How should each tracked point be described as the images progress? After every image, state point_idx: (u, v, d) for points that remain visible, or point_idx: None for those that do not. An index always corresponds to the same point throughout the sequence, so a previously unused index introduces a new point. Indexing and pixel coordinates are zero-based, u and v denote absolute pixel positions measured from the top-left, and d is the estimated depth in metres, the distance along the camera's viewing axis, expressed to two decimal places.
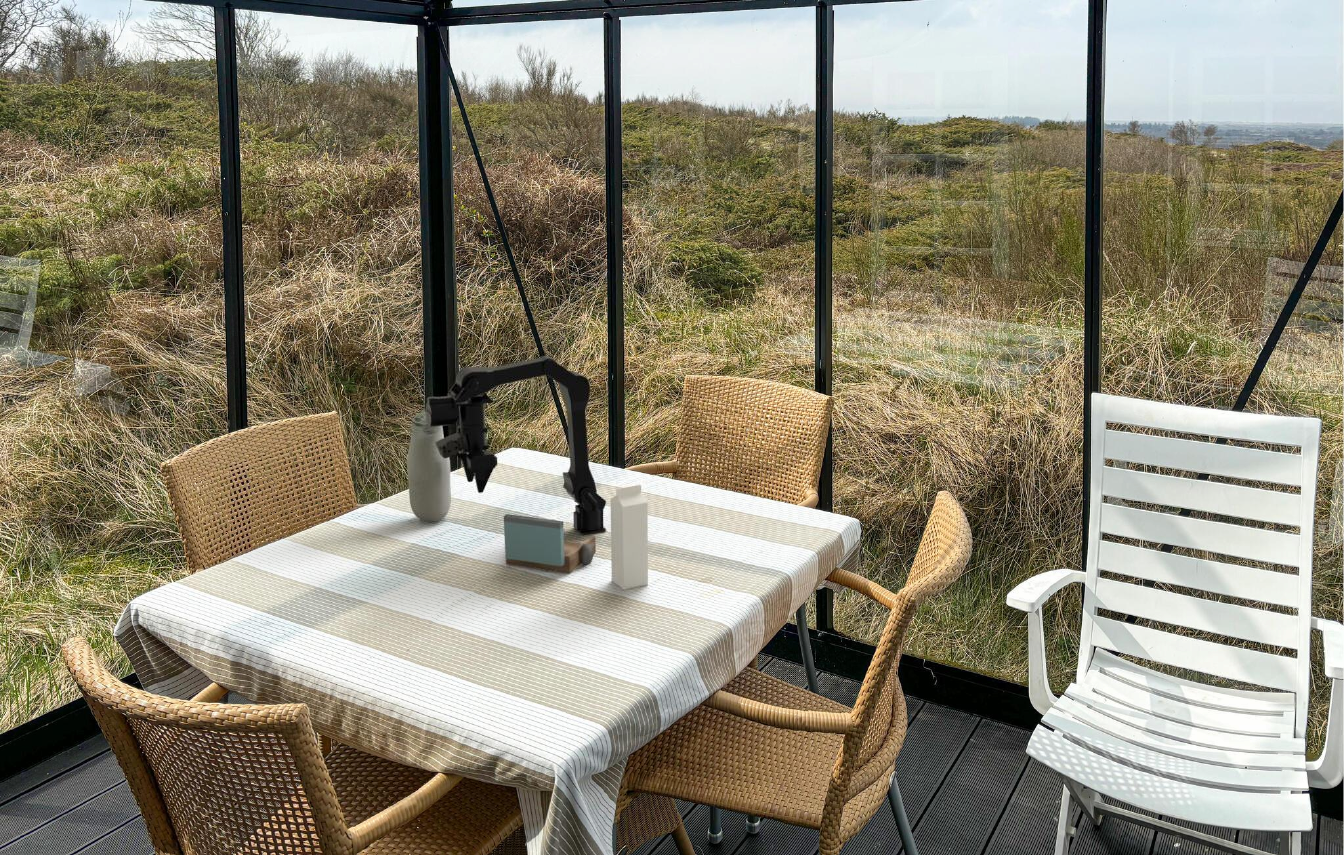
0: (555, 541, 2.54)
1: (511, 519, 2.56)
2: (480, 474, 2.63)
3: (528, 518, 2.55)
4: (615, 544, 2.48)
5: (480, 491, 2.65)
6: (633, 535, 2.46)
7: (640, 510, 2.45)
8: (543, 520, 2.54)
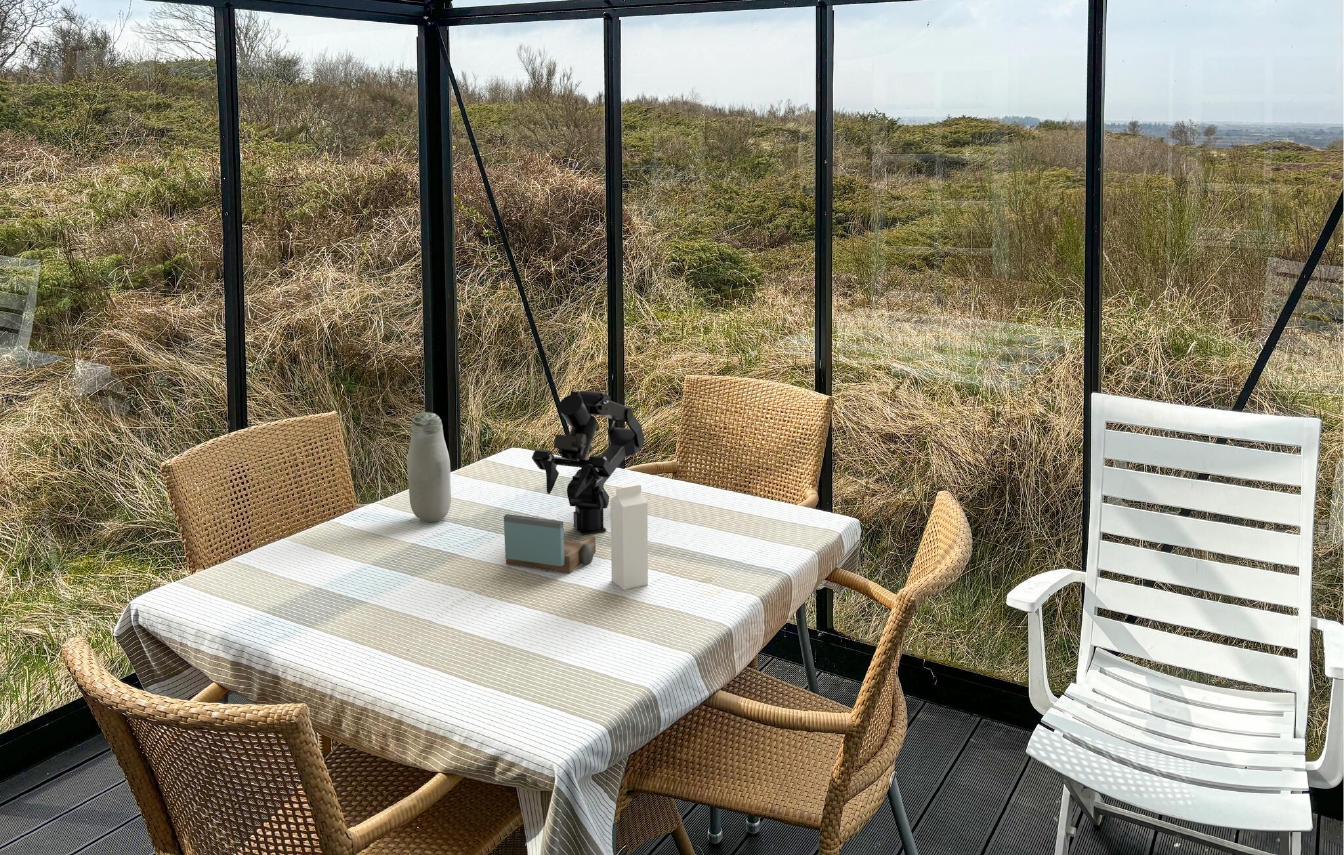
0: (555, 541, 2.54)
1: (511, 519, 2.56)
2: (585, 478, 2.68)
3: (528, 518, 2.55)
4: (615, 544, 2.48)
5: (576, 495, 2.67)
6: (633, 535, 2.46)
7: (640, 510, 2.45)
8: (543, 520, 2.54)
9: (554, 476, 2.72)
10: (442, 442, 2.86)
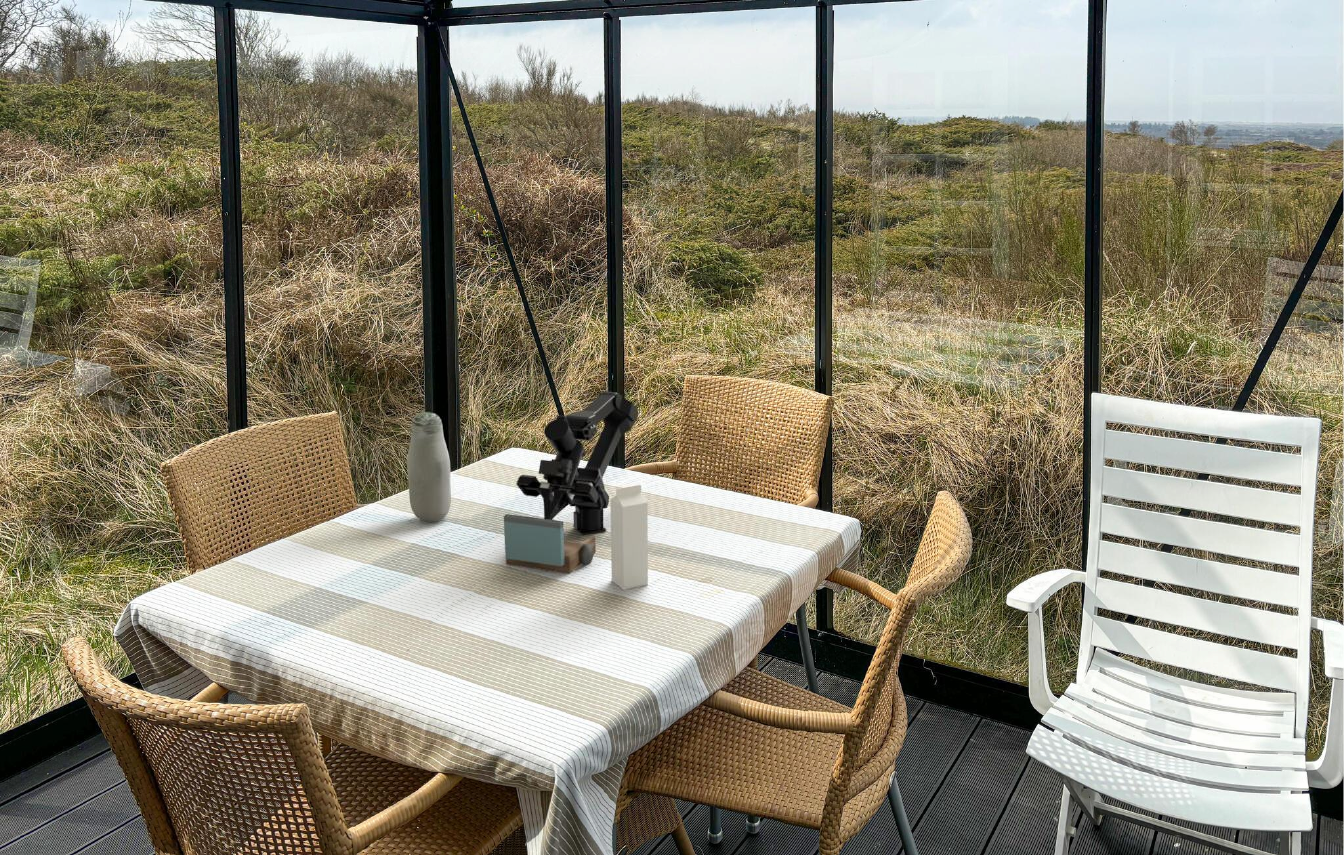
0: (555, 541, 2.54)
1: (511, 519, 2.56)
2: (557, 504, 2.63)
3: (528, 518, 2.55)
4: (615, 544, 2.48)
5: None
6: (633, 535, 2.46)
7: (640, 510, 2.45)
8: (543, 520, 2.54)
9: (552, 504, 2.65)
10: (442, 442, 2.86)
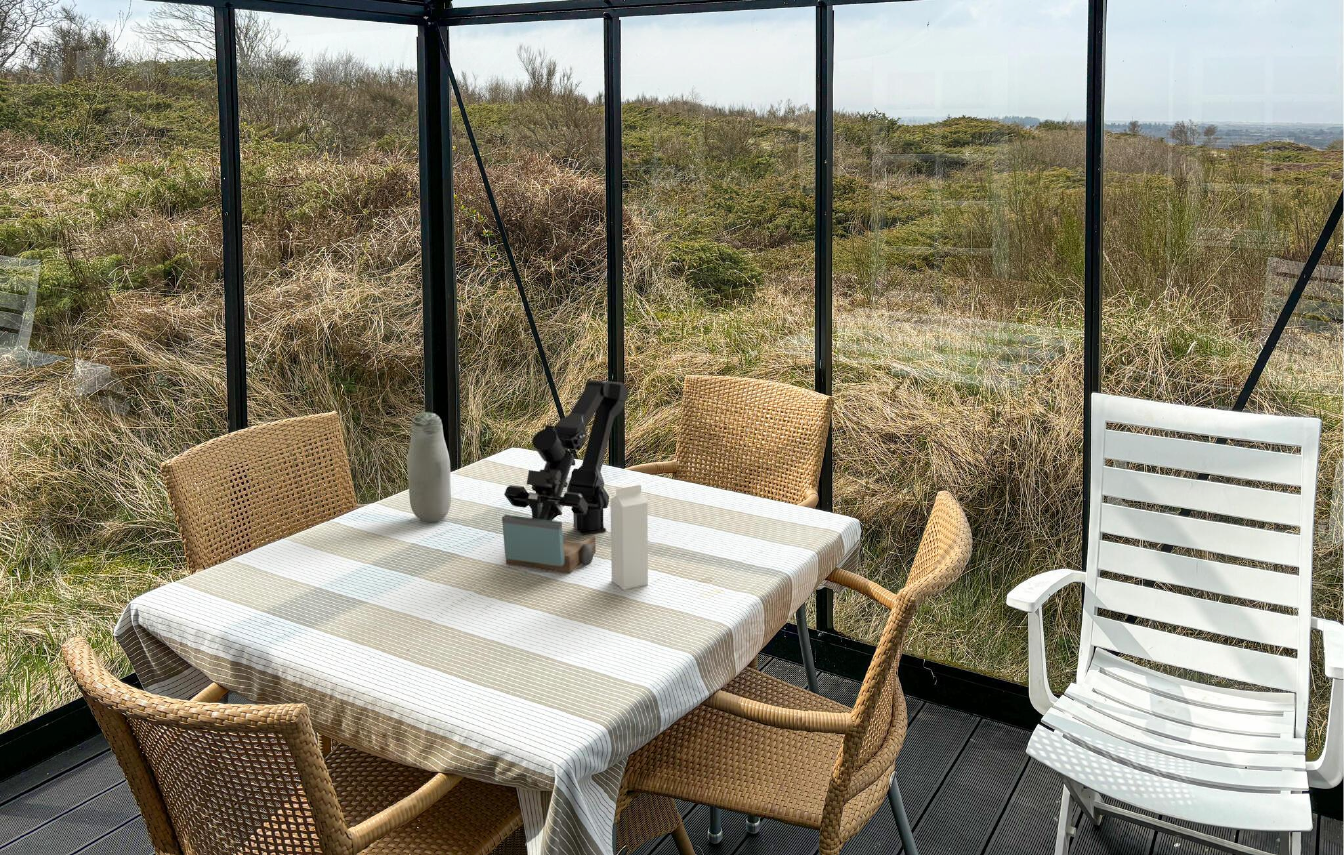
0: (554, 542, 2.53)
1: (509, 520, 2.56)
2: (546, 515, 2.58)
3: (526, 519, 2.55)
4: (615, 544, 2.48)
5: None
6: (633, 535, 2.46)
7: (640, 510, 2.45)
8: (541, 521, 2.53)
9: None
10: (442, 442, 2.86)
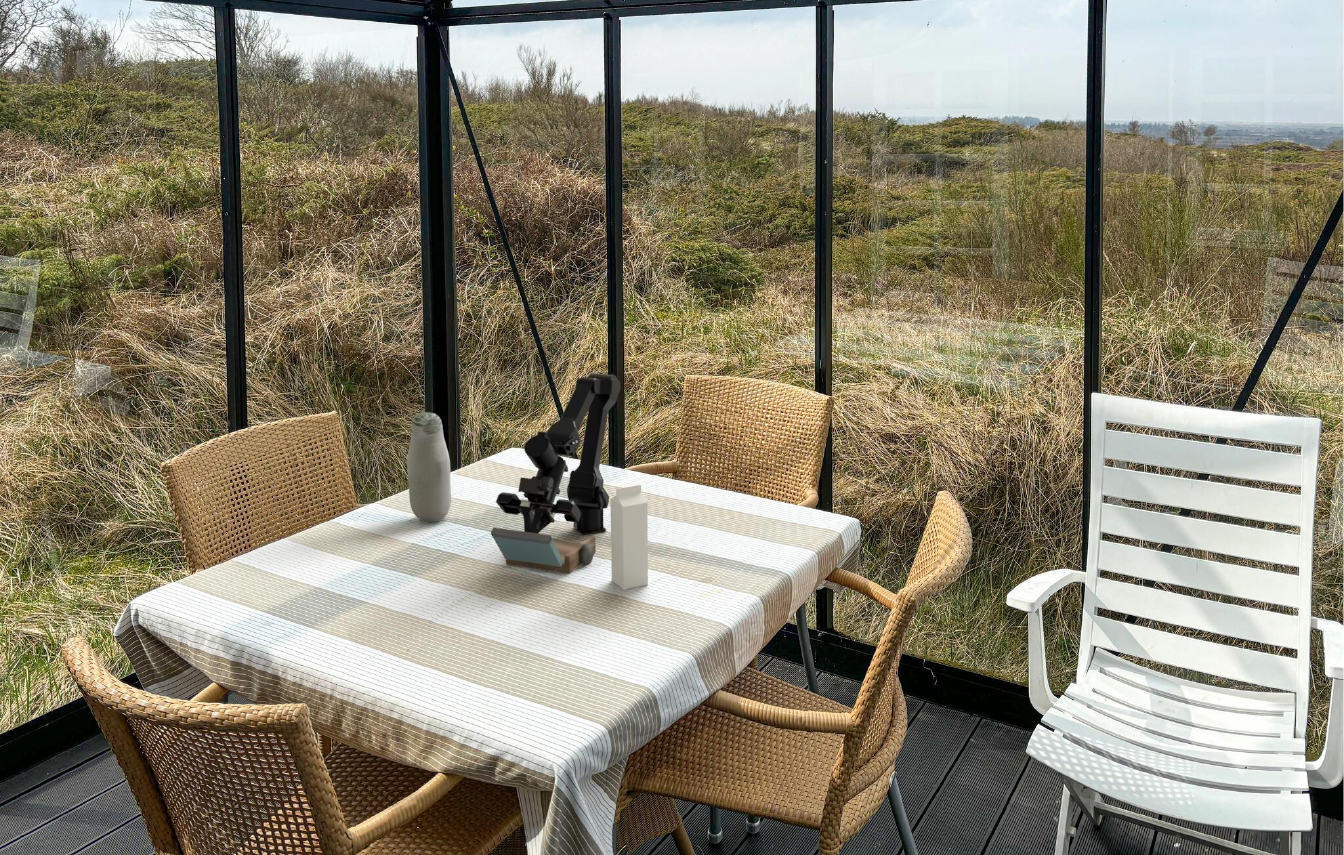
0: (548, 551, 2.51)
1: (499, 535, 2.52)
2: (538, 522, 2.55)
3: (515, 534, 2.50)
4: (615, 544, 2.48)
5: None
6: (632, 535, 2.46)
7: (640, 510, 2.45)
8: (530, 536, 2.49)
9: None
10: (442, 442, 2.86)
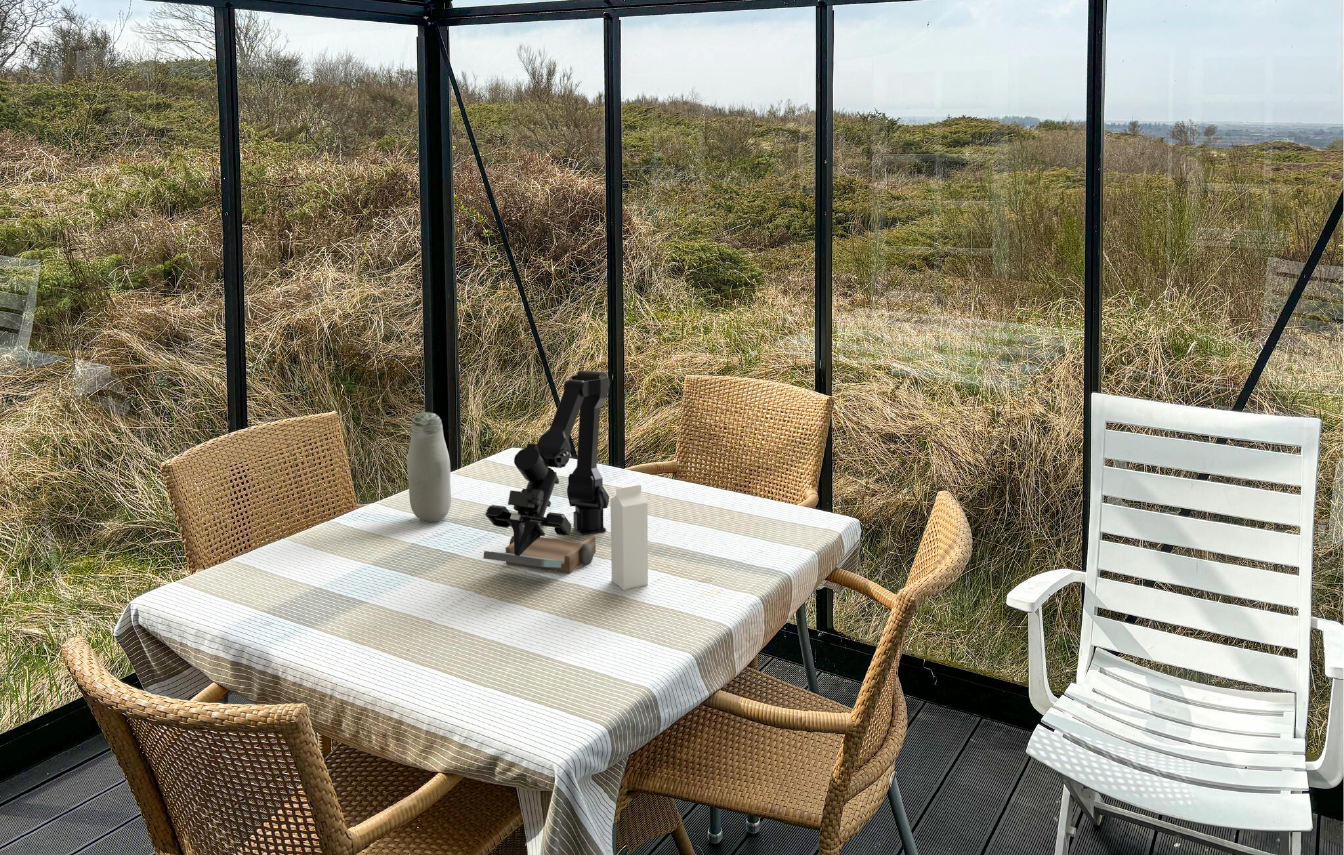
0: None
1: (492, 559, 2.50)
2: (528, 536, 2.51)
3: (507, 559, 2.48)
4: (615, 544, 2.48)
5: (519, 553, 2.49)
6: (633, 535, 2.46)
7: (640, 510, 2.45)
8: (523, 561, 2.47)
9: None
10: (442, 442, 2.86)
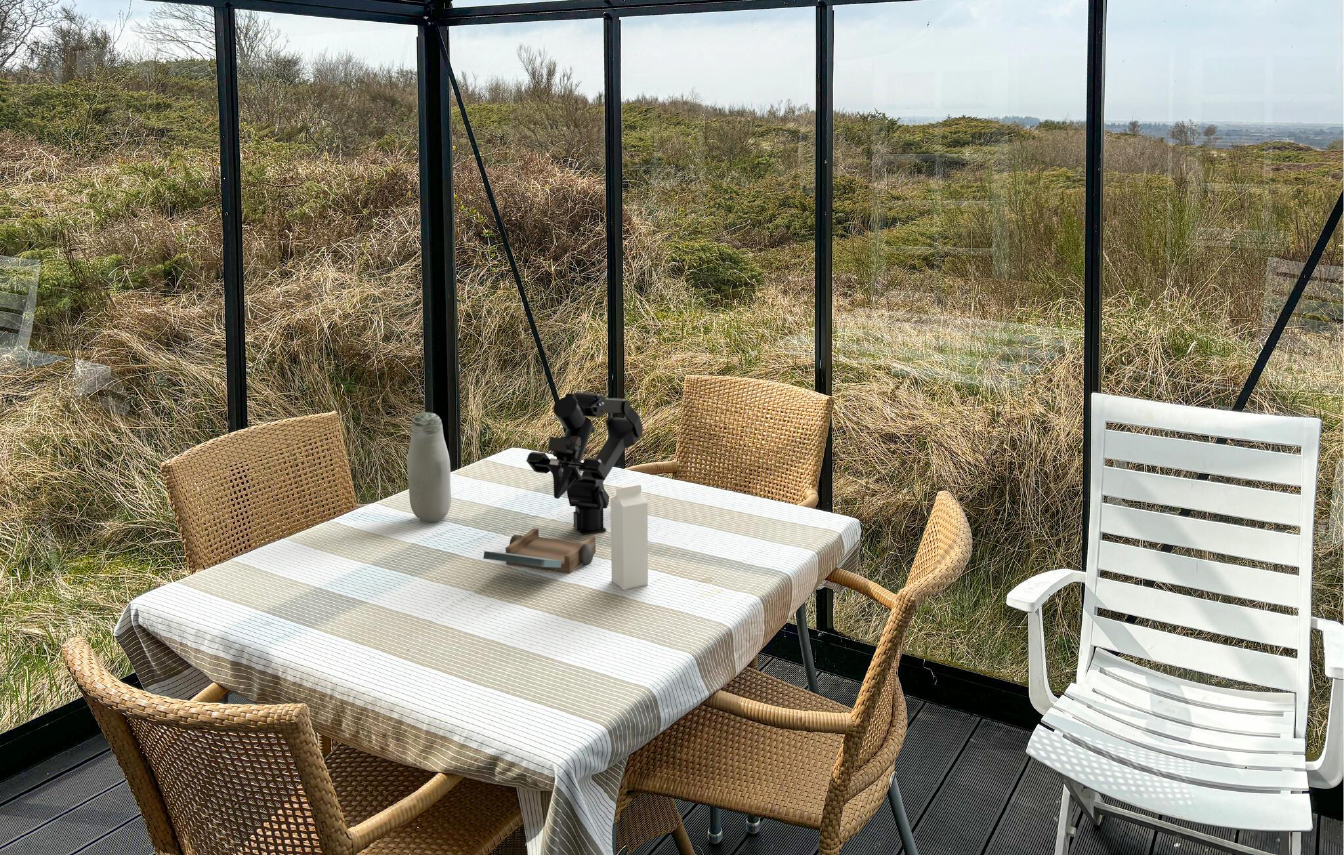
0: None
1: (492, 559, 2.50)
2: (567, 480, 2.67)
3: (507, 559, 2.48)
4: (615, 544, 2.48)
5: (558, 496, 2.66)
6: (633, 535, 2.46)
7: (640, 510, 2.45)
8: (523, 561, 2.47)
9: None
10: (442, 442, 2.86)
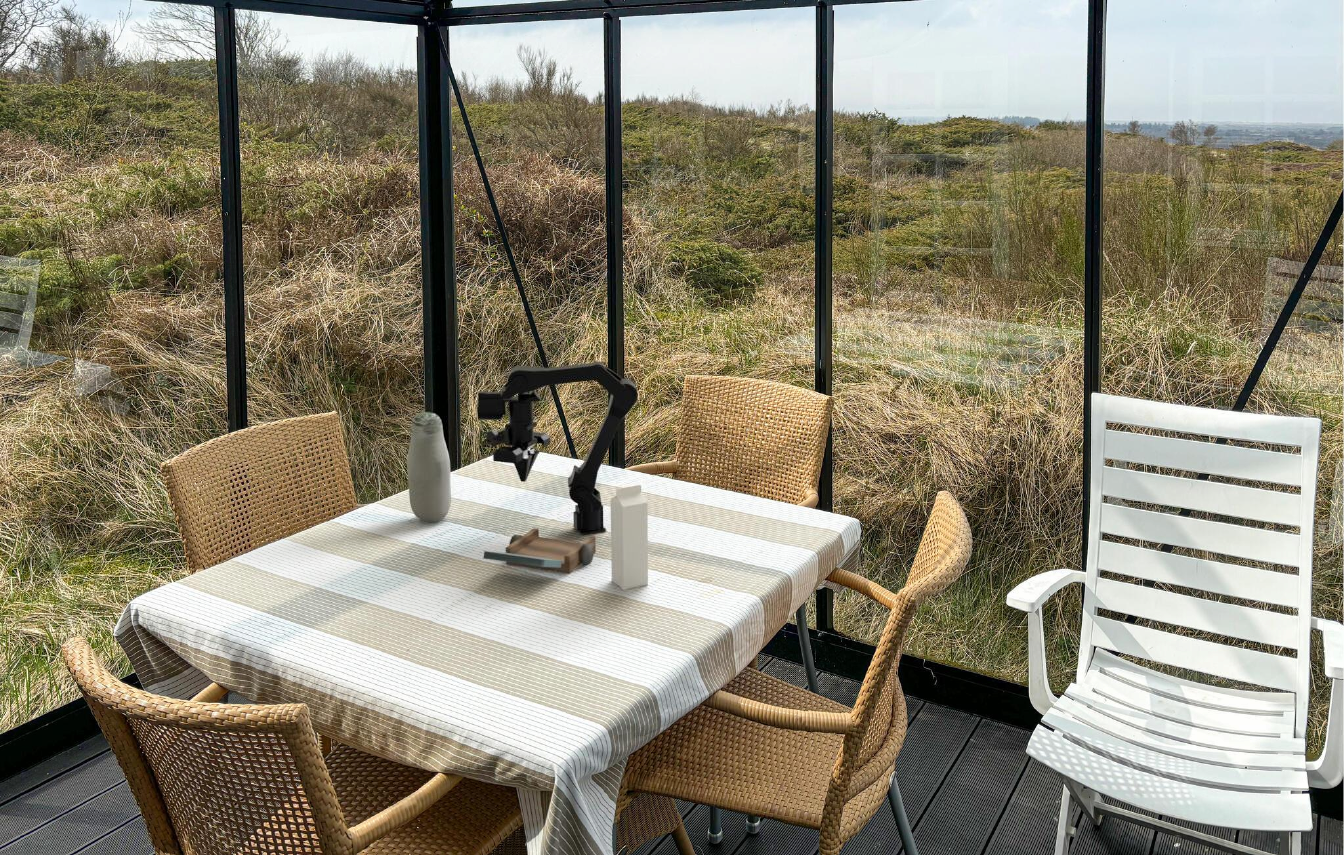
0: None
1: (492, 559, 2.50)
2: (519, 464, 2.78)
3: (507, 559, 2.48)
4: (615, 544, 2.48)
5: (522, 480, 2.79)
6: (633, 535, 2.46)
7: (640, 510, 2.45)
8: (523, 561, 2.47)
9: None
10: (442, 442, 2.86)
